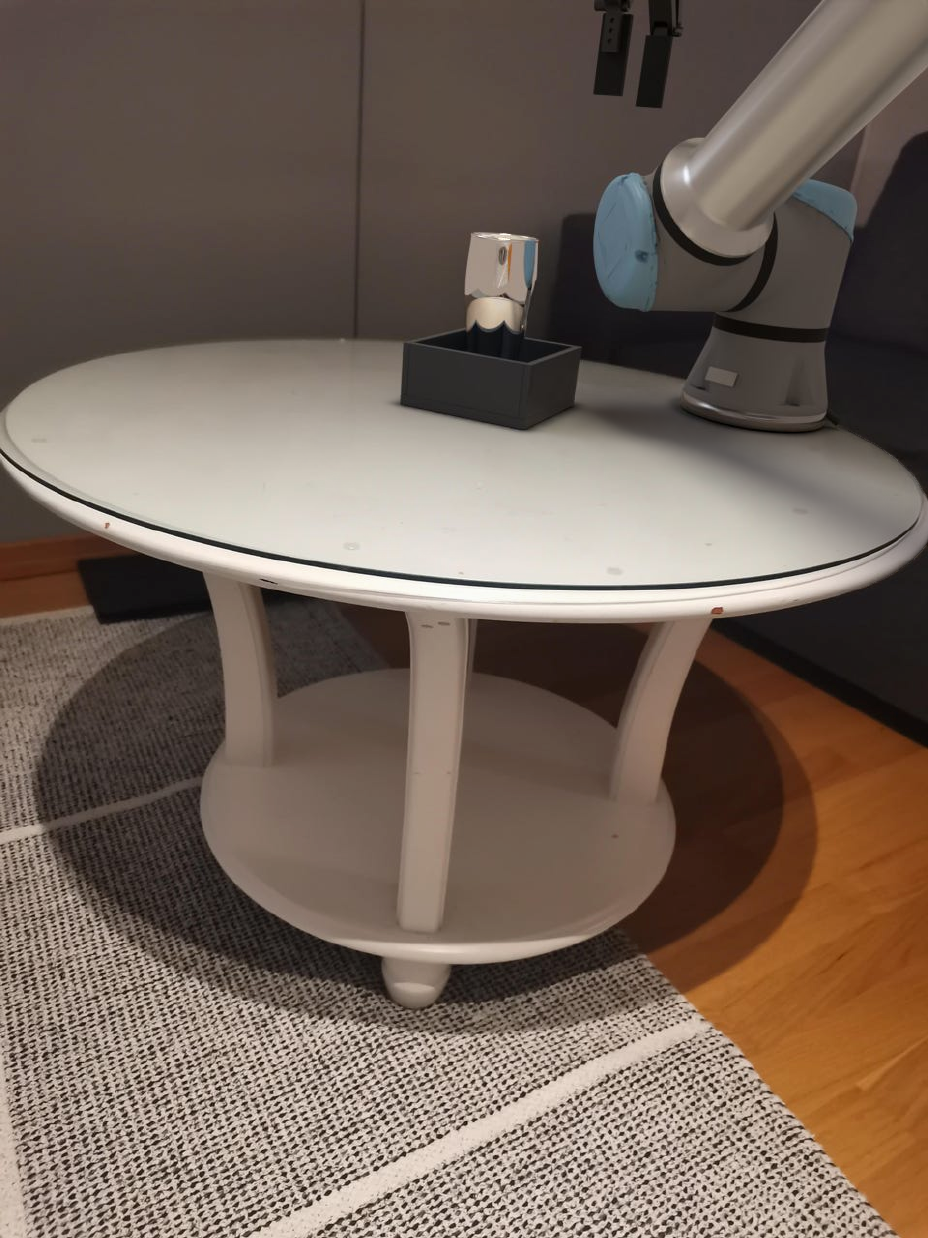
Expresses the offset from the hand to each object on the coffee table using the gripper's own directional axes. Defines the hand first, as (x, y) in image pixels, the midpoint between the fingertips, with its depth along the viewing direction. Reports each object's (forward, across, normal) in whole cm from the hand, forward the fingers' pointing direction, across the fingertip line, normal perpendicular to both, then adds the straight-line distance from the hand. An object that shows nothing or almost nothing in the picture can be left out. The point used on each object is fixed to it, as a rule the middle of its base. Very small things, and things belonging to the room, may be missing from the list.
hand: (629, 101), depth 95 cm
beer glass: (+28, +16, -5) cm, 33 cm away
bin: (+29, +16, -5) cm, 33 cm away
